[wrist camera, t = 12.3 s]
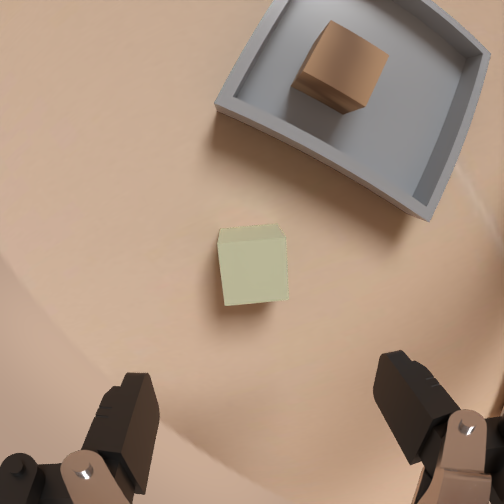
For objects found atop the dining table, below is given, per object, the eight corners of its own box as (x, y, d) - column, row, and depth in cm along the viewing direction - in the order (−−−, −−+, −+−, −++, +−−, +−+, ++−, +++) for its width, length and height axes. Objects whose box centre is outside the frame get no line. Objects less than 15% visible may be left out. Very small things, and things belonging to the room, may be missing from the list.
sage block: (277, 223, 28) (286, 237, 23) (280, 276, 29) (288, 299, 25) (220, 228, 28) (217, 243, 23) (226, 281, 29) (224, 305, 24)
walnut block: (364, 69, 23) (389, 55, 18) (342, 114, 24) (365, 106, 19) (314, 41, 22) (330, 19, 17) (290, 86, 23) (302, 71, 19)
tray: (468, 60, 23) (490, 53, 19) (407, 213, 28) (429, 222, 24) (310, -45, 20) (320, -65, 16) (217, 110, 25) (214, 103, 21)
